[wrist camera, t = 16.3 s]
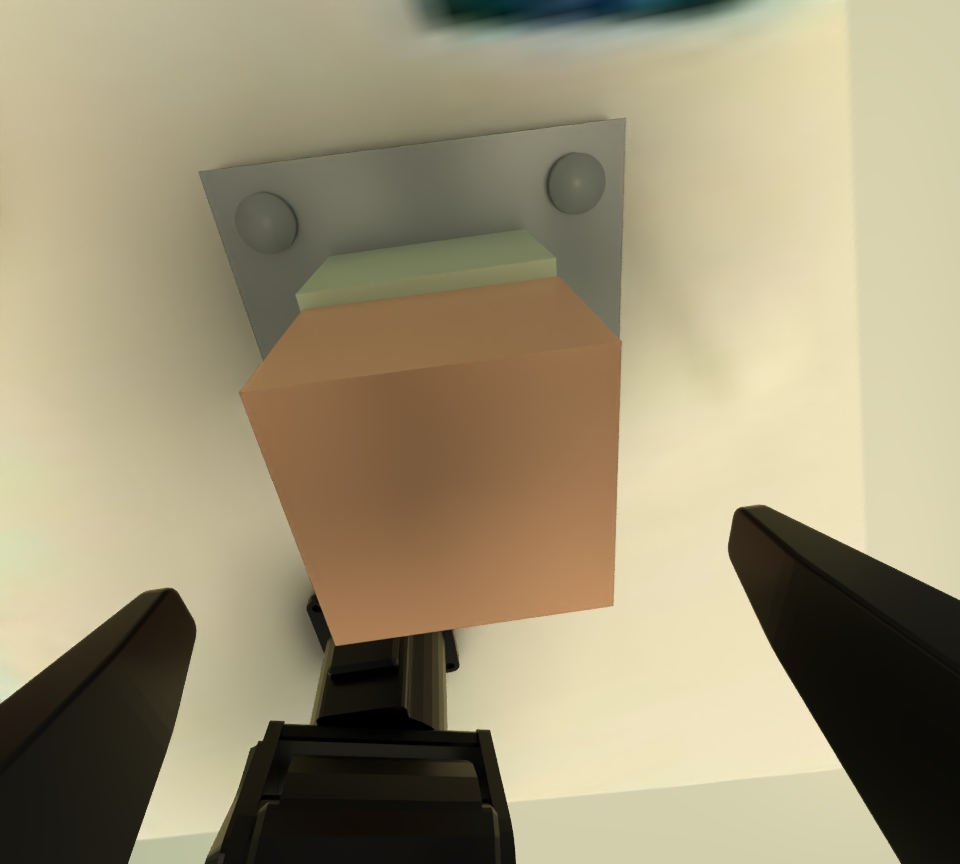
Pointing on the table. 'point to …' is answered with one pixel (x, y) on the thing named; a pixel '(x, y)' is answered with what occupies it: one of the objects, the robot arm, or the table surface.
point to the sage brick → (427, 269)
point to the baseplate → (425, 210)
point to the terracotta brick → (446, 456)
